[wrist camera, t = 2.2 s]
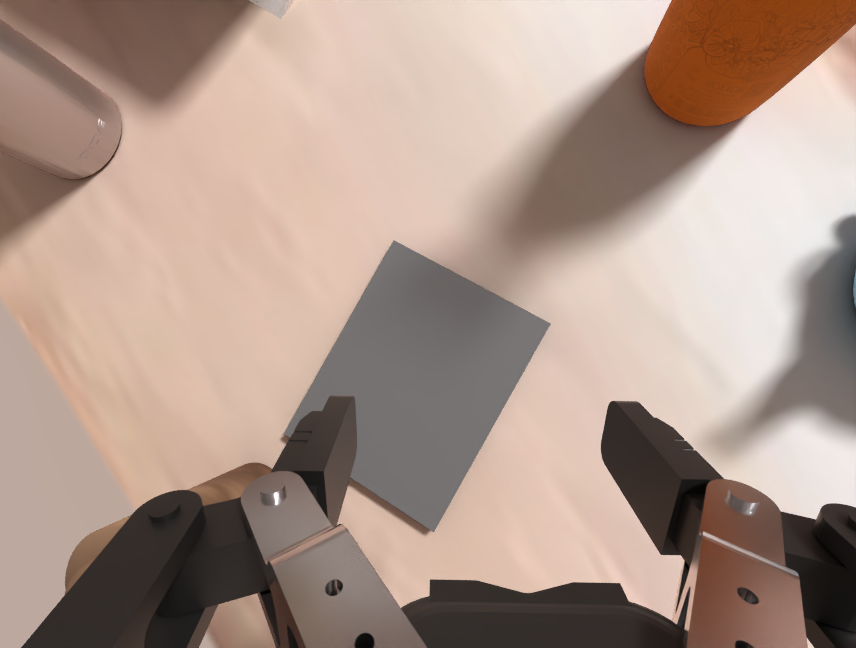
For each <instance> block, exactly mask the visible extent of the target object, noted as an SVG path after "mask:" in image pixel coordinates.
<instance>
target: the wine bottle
mask: <svg viewBox="0 0 856 648" xmlns="http://www.w3.org/2000/svg"><path fill="white" fill-rule="evenodd" d="M855 24H856V0H672V1H671V3H670V5H669V7H668V9H667V11H666V13H665V15H664V17H663V19H662V21H661V23H660V25H659V27H658V30H657V32H656V34H655V36H654V38H653V40H652V43H651V45H650V48H649V50H648V53H647V57H646V62H645V70H644V73H645V82H646V86H647V89H648V91H649V93H650V96H651V97H652V99H653V101H654V102H655V104H656V105H657V106H658V107H659V108H660V109H661V110H662V111H663V112H664V113H666V114H667V115H668V116H670V117H672V118H674V119H676V120H678V121H680V122H683V123H686V124H690V125H696V126H715V125H722V124H726V123H729V122H733V121H735V120H737V119H739V118H742V117H744V116H746V115H747V114H749V113H751V112H752V111H754V110H755V109H757V108H758V107H759V106H760V105H762V104H763V103H764V102H766V101H767V100H768V99H769V98H771V97H772V96H773V95H774V94H776V93H777V92H778V91H779V90H780V89H782V88H783V87H784V86H785V85H786V84H787V83H789V82H790V81H791V80H792V79H793V78H794V77H796V76H797V75H798V74H799V73H800V72H801V71H803V70H804V69H805V68H806V67H807V66H808V65H810V64H811V63H812V62H813V61H814V60H815V59H817V58H818V57H819V56H820V55H821V54H822V53H823V52H825V51H826V50H827V49H828V48H829V47H830V46H831V45H833V44H834V43H835V42H836V41H837V40H838V39H839V38H841V37H842V36H843V35H844V34H845V33H846V32H847V31H848V30H849V29H851V28H852V27H853V26H854V25H855Z"/></svg>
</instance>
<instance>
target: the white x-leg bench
mask: <svg viewBox="0 0 856 648" xmlns="http://www.w3.org/2000/svg"><path fill="white" fill-rule="evenodd" d="M249 1H251V2H253V3H254V4H256V5H258V6H260V7H262V8H263V9H265V10H267V11H269V12H271V13H272V14H274V15H276V16H278V17H280V18H281V19H282V18H283V16H284V15H285V13H286V11H287V10H288V8H289V7H290V5H291V4H292V2H293V1H294V0H249Z"/></svg>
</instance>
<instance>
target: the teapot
mask: <svg viewBox="0 0 856 648" xmlns="http://www.w3.org/2000/svg"><path fill="white" fill-rule="evenodd" d="M853 295H854V303H855V307H856V271H855V277H854V284H853Z"/></svg>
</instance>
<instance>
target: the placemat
mask: <svg viewBox="0 0 856 648" xmlns="http://www.w3.org/2000/svg"><path fill="white" fill-rule="evenodd" d="M549 326H550V323H548V322H546V321H545V320H543V319H541V318H539V317H537V316H535V315H533V314H531V313H530V312H528V311H526V310H524V309H522V308H520V307H518V306H516V305H515V304H513V303H511V302H509V301H507V300H505V299H503V298H501V297H499V296H498V295H496V294H494V293H492V292H490V291H488V290H486V289H484V288H483V287H481V286H479V285H477V284H475V283H473V282H471V281H469V280H467V279H466V278H464V277H462V276H460V275H458V274H456V273H454V272H452V271H451V270H449V269H447V268H445V267H443V266H441V265H439V264H437V263H436V262H434V261H432V260H430V259H428V258H426V257H424V256H422V255H420V254H419V253H417V252H415V251H413V250H411V249H409V248H407V247H405V246H404V245H402V244H400V243H398V242H396V241H393V242H392V244H391V246H390V248H389V249H388V251H387V253H386V255H385V256H384V258H383V260H382V262H381V264H380V265H379V267H378V269H377V271H376V272H375V274H374V276H373V278H372V279H371V281H370V283H369V285H368V287H367V288H366V290H365V292H364V294H363V295H362V297H361V299H360V301H359V302H358V304H357V306H356V308H355V309H354V311H353V313H352V315H351V317H350V318H349V320H348V322H347V324H346V325H345V327H344V329H343V331H342V332H341V334H340V336H339V338H338V339H337V341H336V343H335V345H334V347H333V348H332V350H331V352H330V354H329V355H328V357H327V359H326V361H325V362H324V364H323V366H322V368H321V369H320V371H319V373H318V375H317V377H316V378H315V380H314V382H313V384H312V385H311V387H310V389H309V391H308V392H307V394H306V396H305V398H304V399H303V401H302V403H301V405H300V407H299V408H298V410H297V412H296V414H295V415H294V417H293V419H292V421H291V422H290V424H289V426H288V428H287V430H286V431H285V433H284V434H285V435H286V436H288V437H289V438H290V437H291V435H292V433H294V430H295V428H296V426H297V425H298V423H299V421H300V420H301V419H302V418H303V417H305V416H306V415H307V414H309V413H310V412H311V411H322V410H323V408H324V406H325V404H326V402H327V400H328V398H329V396H331V395H334V396H354V398H355V406H356V425H357V451H356V458H355V461H354V465H353V469H352V472H351V476H350V478H352V479H353V480H355V481H356V482H358V483H359V484H361V485H362V486H364V487H365V488H367V489H368V490H370V491H372V492H373V493H375V494H376V495H378V496H379V497H381V498H382V499H384V500H385V501H387V502H388V503H390V504H391V505H393V506H394V507H396V508H397V509H399V510H400V511H402V512H404V513H405V514H407V515H408V516H410V517H411V518H413V519H414V520H416V521H417V522H419V523H420V524H422V525H423V526H425V527H426V528H428V529H429V530H431V531H433V532H434V531H435V529H436V527H437V525H438V524H439V522H440V520H441V518H442V517H443V515H444V513H445V511H446V509H447V508H448V506H449V504H450V502H451V500H452V499H453V497H454V495H455V493H456V492H457V490H458V488H459V486H460V484H461V483H462V481H463V479H464V477H465V475H466V474H467V472H468V470H469V468H470V467H471V465H472V463H473V461H474V459H475V458H476V456H477V454H478V452H479V450H480V449H481V447H482V445H483V443H484V442H485V440H486V438H487V436H488V434H489V433H490V431H491V429H492V427H493V425H494V424H495V422H496V420H497V418H498V417H499V415H500V413H501V411H502V409H503V408H504V406H505V404H506V402H507V401H508V399H509V397H510V395H511V393H512V392H513V390H514V388H515V386H516V384H517V383H518V381H519V379H520V377H521V376H522V374H523V372H524V370H525V368H526V367H527V365H528V363H529V361H530V359H531V358H532V356H533V354H534V352H535V351H536V349H537V347H538V345H539V343H540V342H541V340H542V338H543V336H544V334H545V333H546V331H547V329H548V327H549Z"/></svg>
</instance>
